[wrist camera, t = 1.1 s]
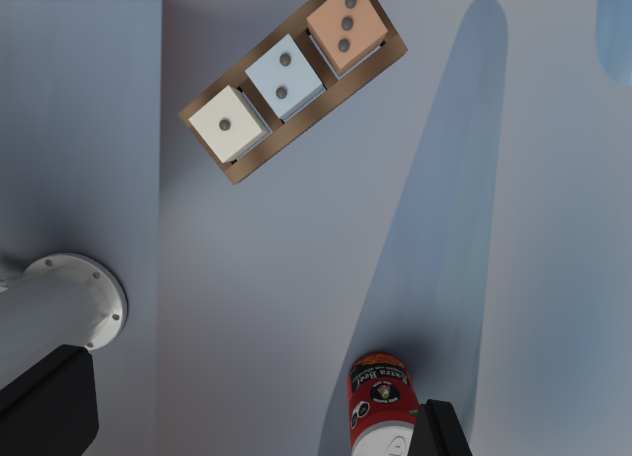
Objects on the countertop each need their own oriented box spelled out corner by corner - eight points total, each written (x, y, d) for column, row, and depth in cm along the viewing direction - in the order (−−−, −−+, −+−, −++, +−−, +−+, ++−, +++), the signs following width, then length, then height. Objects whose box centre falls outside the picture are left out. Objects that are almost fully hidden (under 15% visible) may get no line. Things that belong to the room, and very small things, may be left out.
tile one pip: (233, 160, 33) (221, 163, 29) (203, 121, 32) (186, 119, 28) (269, 131, 32) (261, 131, 28) (239, 91, 31) (227, 84, 27)
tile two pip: (284, 120, 32) (278, 117, 28) (254, 78, 31) (243, 70, 27) (323, 89, 31) (322, 82, 27) (293, 45, 30) (288, 32, 26)
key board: (240, 182, 35) (233, 185, 33) (188, 115, 34) (177, 114, 32) (402, 56, 32) (408, 49, 29) (352, -25, 30) (353, -39, 28)
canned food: (408, 348, 40) (435, 424, 29) (409, 403, 42) (435, 492, 31) (344, 351, 40) (349, 427, 30) (348, 405, 43) (354, 494, 32)
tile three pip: (339, 76, 30) (340, 68, 27) (309, 32, 30) (306, 16, 26) (381, 43, 30) (388, 29, 26) (351, -4, 29) (354, -25, 25)
